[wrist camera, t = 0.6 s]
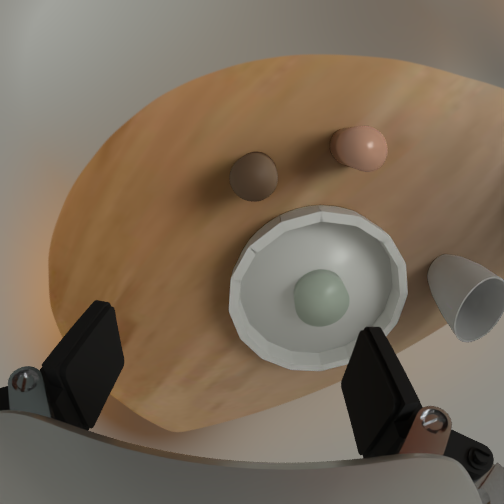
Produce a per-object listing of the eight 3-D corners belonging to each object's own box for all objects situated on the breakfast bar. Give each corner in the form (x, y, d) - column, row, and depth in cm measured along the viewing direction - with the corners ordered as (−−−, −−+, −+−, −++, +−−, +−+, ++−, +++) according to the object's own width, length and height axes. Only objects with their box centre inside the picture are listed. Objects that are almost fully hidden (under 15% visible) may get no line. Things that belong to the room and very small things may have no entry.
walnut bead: (269, 147, 29) (269, 148, 23) (280, 183, 30) (283, 194, 24) (231, 158, 29) (223, 162, 24) (243, 194, 31) (238, 207, 25)
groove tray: (384, 185, 29) (396, 191, 26) (399, 329, 36) (408, 344, 33) (208, 233, 32) (202, 244, 29) (260, 366, 39) (259, 383, 36)
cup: (435, 308, 35) (469, 352, 25) (406, 276, 33) (443, 320, 24) (473, 267, 32) (514, 302, 23) (447, 230, 30) (495, 261, 21)
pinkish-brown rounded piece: (360, 124, 27) (381, 122, 22) (370, 160, 28) (391, 166, 23) (325, 132, 28) (338, 130, 22) (335, 169, 29) (350, 176, 23)
